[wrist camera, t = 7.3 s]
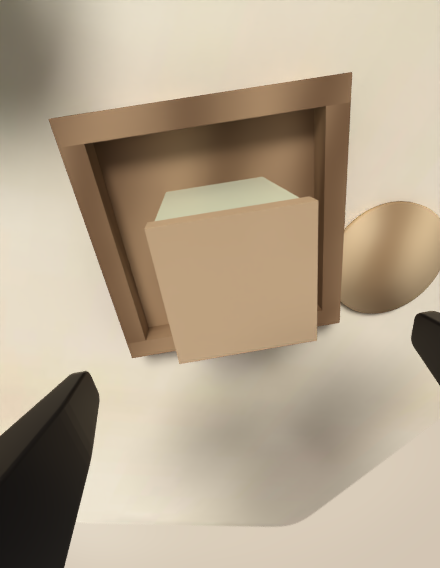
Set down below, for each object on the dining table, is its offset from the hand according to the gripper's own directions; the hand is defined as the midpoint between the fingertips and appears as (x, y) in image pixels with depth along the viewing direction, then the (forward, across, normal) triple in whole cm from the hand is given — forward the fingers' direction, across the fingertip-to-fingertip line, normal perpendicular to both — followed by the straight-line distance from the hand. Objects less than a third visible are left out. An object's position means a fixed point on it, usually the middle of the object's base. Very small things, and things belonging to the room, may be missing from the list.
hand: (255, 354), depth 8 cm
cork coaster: (+12, -11, +4) cm, 17 cm away
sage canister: (+11, 0, 0) cm, 11 cm away
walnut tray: (+12, 0, 0) cm, 12 cm away
